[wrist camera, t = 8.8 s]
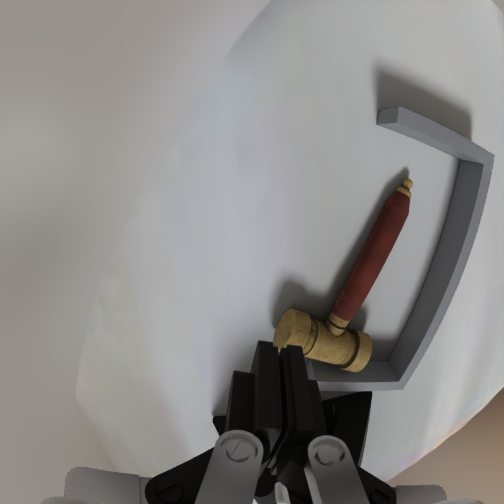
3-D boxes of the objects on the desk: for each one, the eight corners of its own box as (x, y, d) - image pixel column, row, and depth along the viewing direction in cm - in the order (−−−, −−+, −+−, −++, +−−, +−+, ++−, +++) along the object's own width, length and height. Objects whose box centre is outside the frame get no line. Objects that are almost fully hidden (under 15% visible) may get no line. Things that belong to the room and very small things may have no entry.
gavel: (380, 152, 21) (455, 206, 23) (359, 153, 25) (430, 199, 27) (274, 360, 26) (355, 380, 28) (270, 334, 31) (344, 356, 32)
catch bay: (471, 151, 23) (494, 155, 19) (392, 369, 33) (402, 389, 29) (379, 109, 22) (399, 105, 19) (306, 366, 32) (311, 390, 29)
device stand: (370, 387, 35) (403, 473, 21) (360, 455, 43) (377, 516, 29) (213, 415, 36) (203, 506, 22) (247, 474, 44) (247, 537, 30)
